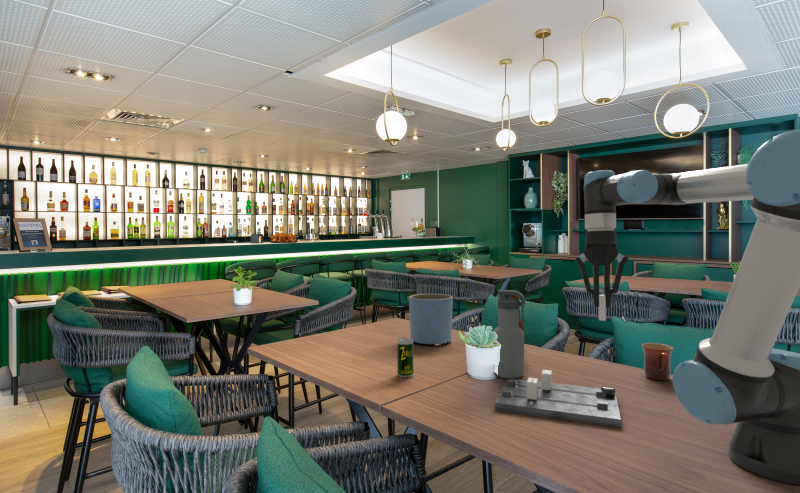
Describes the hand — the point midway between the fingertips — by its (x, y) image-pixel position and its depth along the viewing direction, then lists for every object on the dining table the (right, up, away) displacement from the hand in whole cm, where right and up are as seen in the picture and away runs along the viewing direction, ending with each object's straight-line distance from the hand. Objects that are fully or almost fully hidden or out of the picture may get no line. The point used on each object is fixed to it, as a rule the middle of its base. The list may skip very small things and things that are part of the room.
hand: (602, 319), depth 117 cm
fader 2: (-11, -21, +11) cm, 26 cm away
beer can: (-51, -24, +31) cm, 64 cm away
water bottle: (-17, -24, +31) cm, 42 cm away
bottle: (-11, -23, +48) cm, 54 cm away
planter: (-40, -23, +78) cm, 90 cm away
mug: (+29, -23, +25) cm, 45 cm away
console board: (-10, -24, +5) cm, 26 cm away
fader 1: (-17, -22, +4) cm, 28 cm away
